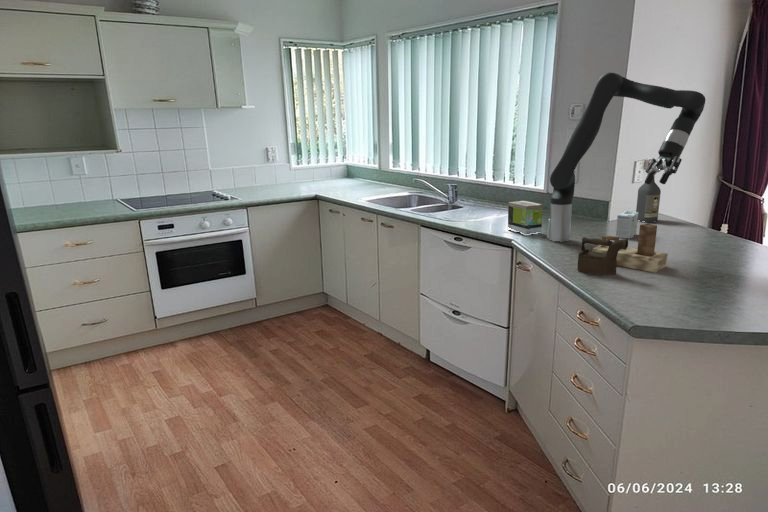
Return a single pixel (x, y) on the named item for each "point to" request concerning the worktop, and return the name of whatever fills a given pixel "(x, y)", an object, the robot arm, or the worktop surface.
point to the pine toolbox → (635, 257)
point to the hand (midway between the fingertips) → (654, 183)
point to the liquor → (648, 201)
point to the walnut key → (647, 240)
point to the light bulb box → (627, 224)
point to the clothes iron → (600, 256)
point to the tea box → (525, 216)
